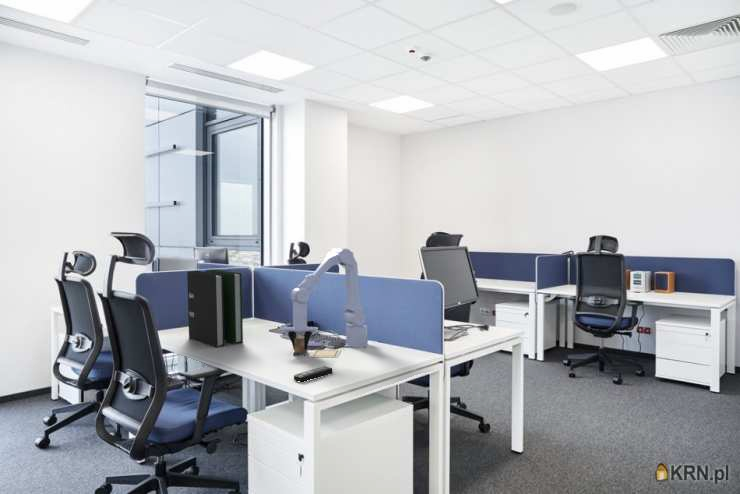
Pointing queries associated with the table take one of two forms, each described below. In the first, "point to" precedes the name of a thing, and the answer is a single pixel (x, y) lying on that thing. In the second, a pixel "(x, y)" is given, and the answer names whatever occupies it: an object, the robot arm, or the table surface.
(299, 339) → the stamp
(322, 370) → the multiport hub
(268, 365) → the table surface
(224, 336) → the binders
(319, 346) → the pad
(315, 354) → the card
